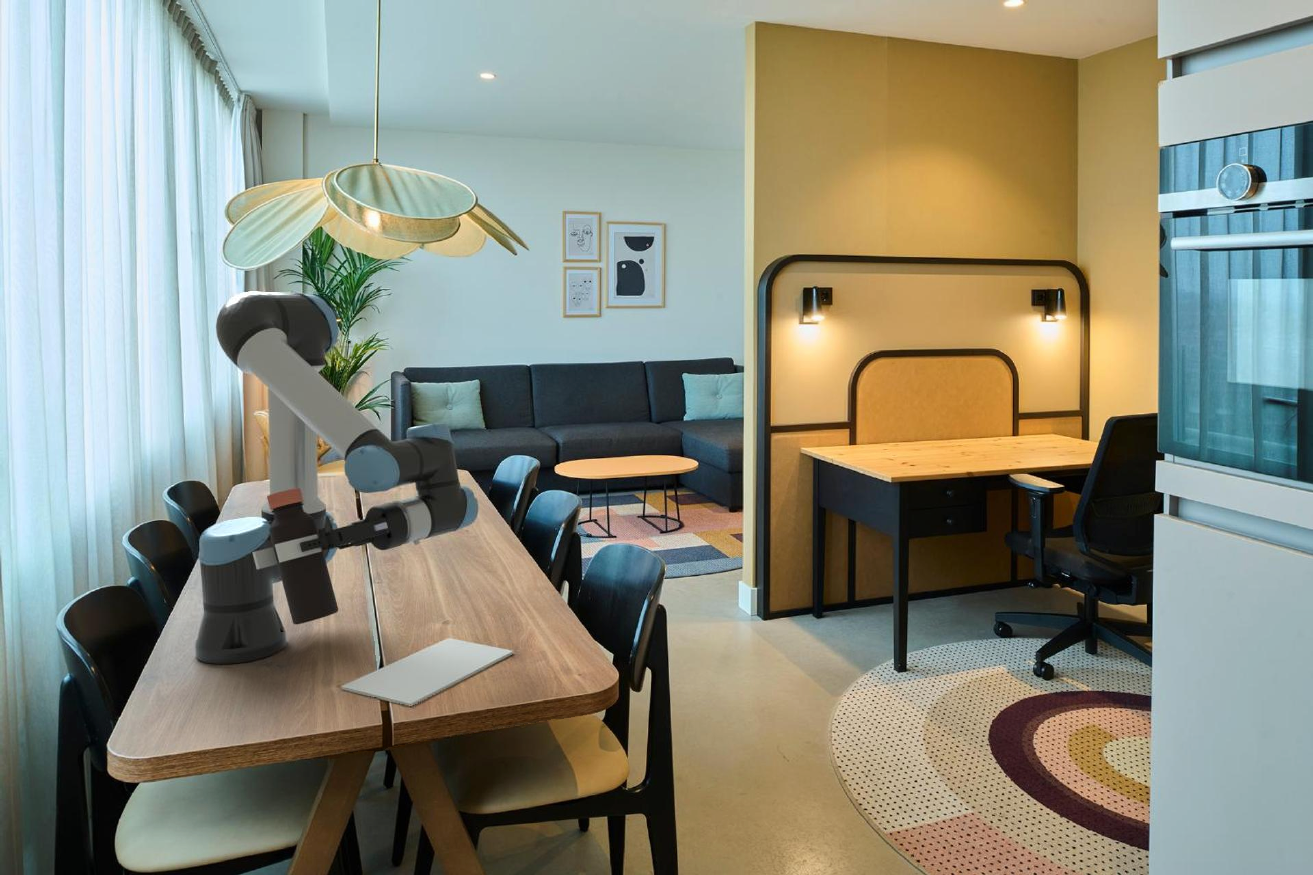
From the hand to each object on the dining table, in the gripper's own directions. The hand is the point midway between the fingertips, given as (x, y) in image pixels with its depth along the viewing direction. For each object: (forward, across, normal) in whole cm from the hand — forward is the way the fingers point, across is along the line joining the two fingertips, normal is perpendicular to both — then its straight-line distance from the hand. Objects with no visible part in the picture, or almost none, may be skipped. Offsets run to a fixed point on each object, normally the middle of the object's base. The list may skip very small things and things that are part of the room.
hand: (267, 556), depth 138 cm
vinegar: (-5, 0, -11) cm, 12 cm away
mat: (-24, +3, -26) cm, 36 cm away
